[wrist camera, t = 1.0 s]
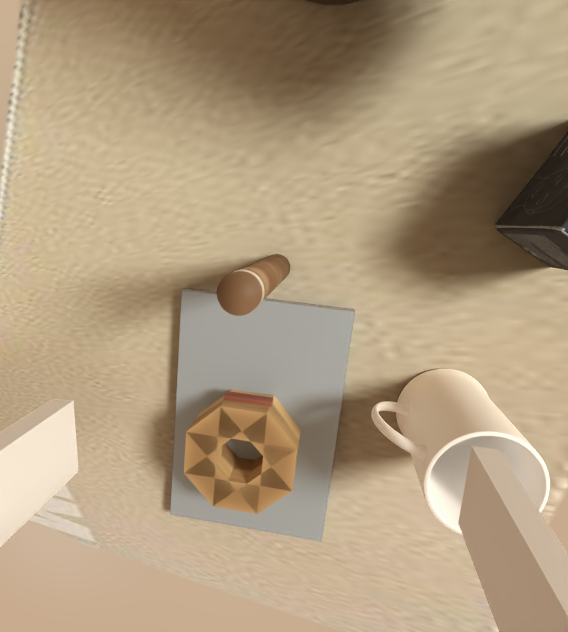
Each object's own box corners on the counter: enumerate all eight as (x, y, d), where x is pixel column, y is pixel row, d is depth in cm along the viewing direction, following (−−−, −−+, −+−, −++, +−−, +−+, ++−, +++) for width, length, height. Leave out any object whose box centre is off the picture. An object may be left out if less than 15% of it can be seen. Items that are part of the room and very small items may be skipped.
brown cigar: (265, 252, 39) (217, 269, 23) (292, 255, 38) (262, 274, 23) (262, 279, 39) (214, 313, 24) (289, 282, 39) (258, 319, 23)
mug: (349, 413, 41) (354, 487, 29) (391, 337, 39) (414, 384, 27) (459, 466, 41) (509, 562, 29) (507, 393, 39) (581, 464, 27)
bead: (202, 380, 41) (188, 397, 37) (304, 395, 40) (301, 414, 36) (195, 479, 43) (181, 504, 39) (292, 496, 42) (288, 523, 38)
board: (186, 288, 40) (181, 290, 39) (354, 309, 39) (354, 311, 38) (174, 507, 46) (170, 514, 44) (322, 533, 44) (321, 541, 43)
